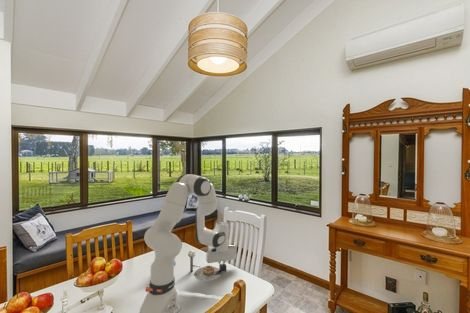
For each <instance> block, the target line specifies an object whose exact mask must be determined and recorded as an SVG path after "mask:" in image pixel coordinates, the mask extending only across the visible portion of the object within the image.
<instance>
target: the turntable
mask: <svg viewBox="0 0 470 313" xmlns="http://www.w3.org/2000/svg"><path fill="white" fill-rule="evenodd" d="M204 267H205V266H203V267H198V268H197V270H195V271H194V274H193V276H194V277H195V278H196V279H197V280H199V281H202V282H204V281H205V282H209V281H214V280H217V279H218V278H220V277H221V275H222V272H227V265H226V263H225V264H223V265H219V268H218V267H216V266H213V267H214V274H212V275H209V276H206V275H204V274H203V268H204Z"/></svg>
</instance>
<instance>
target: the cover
mask: <svg viewBox="0 0 470 313" xmlns="http://www.w3.org/2000/svg"><path fill="white" fill-rule="evenodd" d="M203 267H204V268H203V274H204V275H206V276H209V275H212V274H214V267H215V266H212V265H205V266H203Z"/></svg>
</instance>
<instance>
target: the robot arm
mask: <svg viewBox="0 0 470 313" xmlns="http://www.w3.org/2000/svg"><path fill="white" fill-rule="evenodd" d="M191 195H192V196H196V197H197V203H198V206H197V207H196V209H195V233H194V234H195V235H194V238H195V242H196V243H197V244H198V245H204V246H207V249H208V250H206V255H205V257H206V258H205V260H206V263H207V264H214V263H218V264H219V265H223V264H226V262H227V261H233V260H237V258H238V254H237V251H238V250H237V249H238V247H237V245H235V244H231V245H229V225H228V223H227V222H226V221H216V222H215V227H214V228H213V229H209V228H208V227H206V226H205V225H206V224H205V222H206V220H205V219H206V218H205V216H209V215H211V214H212V213H214V212H215V211H216V210H217V208H218V200H217V193H216V190H215V187H214V185H213V183H212V182H211V181H210V180H209V178H207V177H205V176H201V175H197V174H190V173H184V174H181V175H180V176H179V177H178V178H177V180H176V182H173V183H172V184H171V185H170V187H169V188H168V191H167V193H166V195H165V198H164V201H163V204H162V205H161V209H160V212H159V214H158V216H157V218H156V220H155V221H154V223H153V224H152V225H151V227H150V228H148V229H147V230H146V231H145V233H144V237H143V238H144V242H145V244H146V245H147V247H148V248H150V249H151V250H153V252H154V254H155V256H154V260H153V261H152V263H151V265H150V280H149V283H148V286H146V287H145V289H144V290H145V292H146V295H145V298H144V300H143V302H142V304H141V306H140V309H139V313H178V312H179V311H180V310H181V307H180V304H179V301H178V292H177V289H176V287H175V283H176V279H175V273H174V272H175V269H174V268H175V266H174V261H175V260H176V257H177V256H178V255H179V254H180V253H181V250H182V247H183V243H182V240H181V239H180V238H179V237H178V235H176V234H175V233H173V232H172V231H173V229H174V227H175V226H176V225H177V224H179V223H180V222H181V220H182V218H183V214H184V212H185V208H186V205H187V202H188V198H189V196H191ZM175 262H176V261H175Z"/></svg>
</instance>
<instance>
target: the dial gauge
mask: <svg viewBox="0 0 470 313" xmlns="http://www.w3.org/2000/svg"><path fill="white" fill-rule="evenodd" d="M187 256H188V257H189V258H190V261H189V262H190V264H189V266H190V268H189V270H190V273H193V271H194V268H201V265H195V264H194V258H195V256H196V252H195V251H194V250H189V251H188V253H187Z"/></svg>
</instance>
